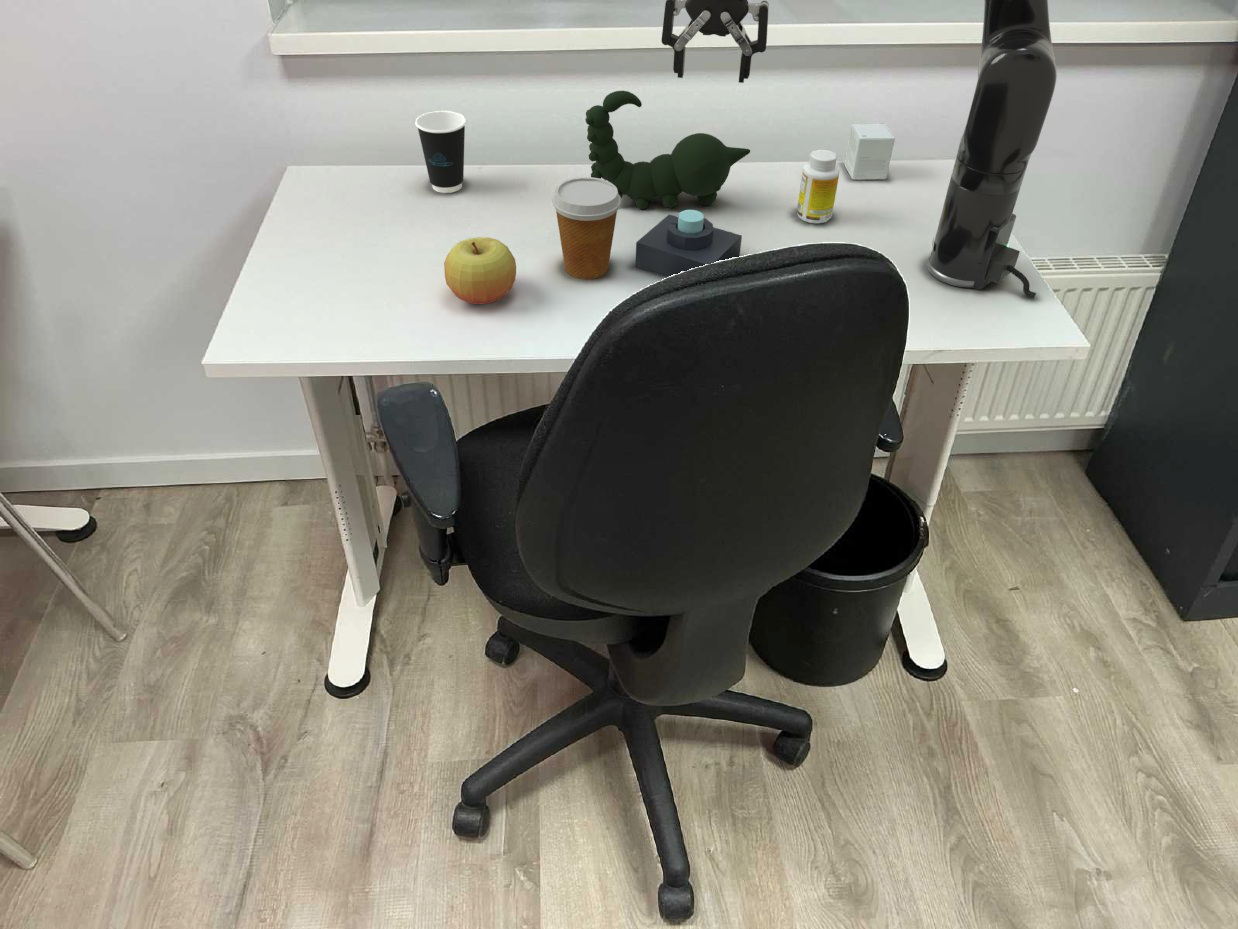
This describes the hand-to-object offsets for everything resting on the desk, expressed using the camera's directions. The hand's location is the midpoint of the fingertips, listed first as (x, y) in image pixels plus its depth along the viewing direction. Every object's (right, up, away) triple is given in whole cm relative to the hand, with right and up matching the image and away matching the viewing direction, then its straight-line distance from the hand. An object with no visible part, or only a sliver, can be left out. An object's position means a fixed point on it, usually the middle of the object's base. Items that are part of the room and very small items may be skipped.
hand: (711, 78), depth 139 cm
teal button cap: (-3, -20, +2) cm, 21 cm away
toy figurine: (-6, -12, +21) cm, 24 cm away
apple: (-32, -31, -1) cm, 44 cm away
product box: (+29, -4, +30) cm, 42 cm away
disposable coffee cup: (-18, -26, +5) cm, 32 cm away
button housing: (-3, -25, +6) cm, 26 cm away
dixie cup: (-41, -9, +23) cm, 48 cm away
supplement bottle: (+18, -15, +18) cm, 29 cm away
